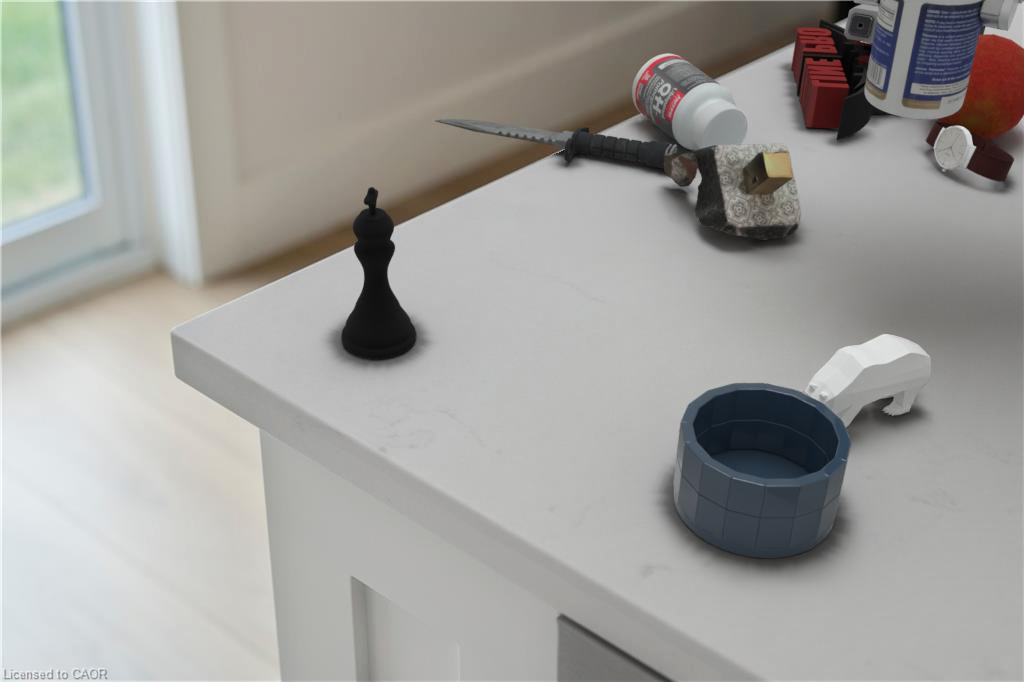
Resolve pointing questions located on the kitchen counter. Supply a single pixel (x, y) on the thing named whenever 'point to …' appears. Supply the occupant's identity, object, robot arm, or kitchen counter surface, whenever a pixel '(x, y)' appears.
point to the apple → (993, 89)
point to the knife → (576, 141)
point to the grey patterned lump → (741, 188)
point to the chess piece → (376, 291)
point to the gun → (866, 23)
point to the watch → (968, 151)
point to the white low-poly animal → (872, 376)
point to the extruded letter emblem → (832, 79)
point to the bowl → (760, 469)
